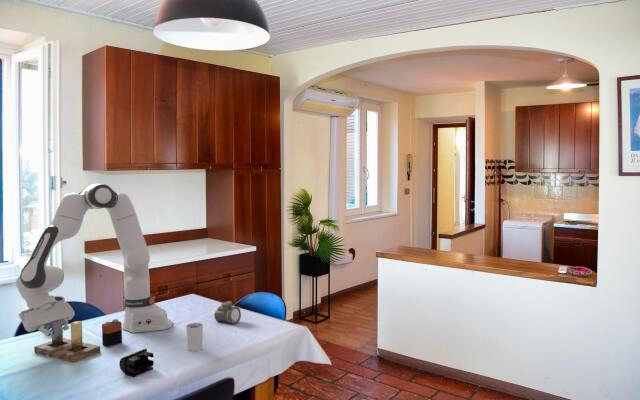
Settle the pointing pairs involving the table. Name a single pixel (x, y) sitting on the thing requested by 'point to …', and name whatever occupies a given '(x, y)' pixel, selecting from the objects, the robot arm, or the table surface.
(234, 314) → the pipe fitting
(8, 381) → the table surface
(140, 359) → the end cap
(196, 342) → the grey cup
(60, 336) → the steel leg
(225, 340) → the table surface
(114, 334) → the battery
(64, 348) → the hole plate
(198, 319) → the table surface
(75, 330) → the brass leg
